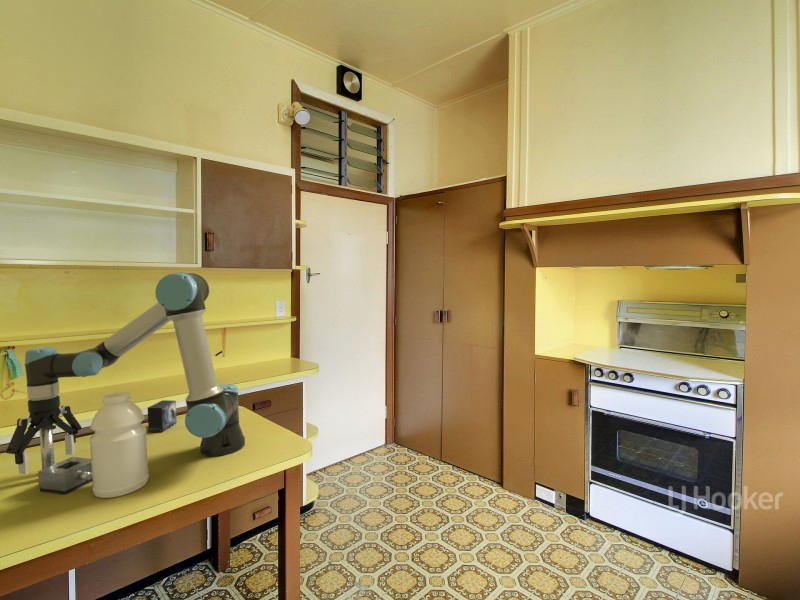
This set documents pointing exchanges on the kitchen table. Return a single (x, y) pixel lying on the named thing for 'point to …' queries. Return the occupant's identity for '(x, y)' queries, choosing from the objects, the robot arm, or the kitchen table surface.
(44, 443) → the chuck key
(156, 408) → the small box
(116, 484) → the bottle
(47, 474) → the block
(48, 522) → the kitchen table surface
